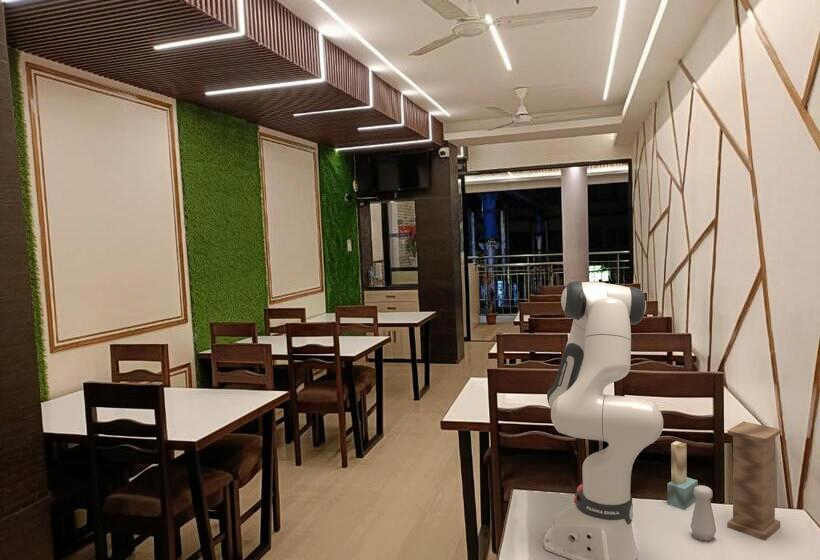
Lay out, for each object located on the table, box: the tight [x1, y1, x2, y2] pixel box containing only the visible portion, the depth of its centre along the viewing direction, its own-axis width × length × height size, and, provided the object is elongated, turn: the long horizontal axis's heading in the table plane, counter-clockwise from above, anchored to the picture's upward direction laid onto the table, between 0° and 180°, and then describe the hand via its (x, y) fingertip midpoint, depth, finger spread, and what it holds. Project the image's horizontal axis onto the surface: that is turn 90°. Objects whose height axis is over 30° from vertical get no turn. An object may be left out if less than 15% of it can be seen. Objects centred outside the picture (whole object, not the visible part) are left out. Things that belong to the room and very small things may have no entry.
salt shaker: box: [690, 484, 717, 542], centre depth 147 cm, size 6×6×13 cm
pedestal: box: [726, 421, 782, 542], centre depth 151 cm, size 9×10×26 cm
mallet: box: [666, 440, 699, 511], centre depth 166 cm, size 17×8×5 cm
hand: (648, 423), depth 172 cm, fingers open, 8 cm apart
